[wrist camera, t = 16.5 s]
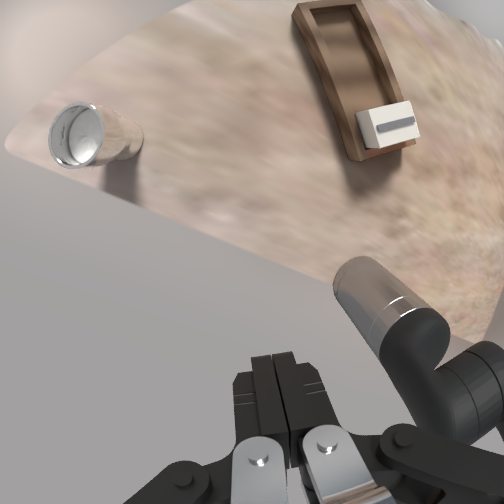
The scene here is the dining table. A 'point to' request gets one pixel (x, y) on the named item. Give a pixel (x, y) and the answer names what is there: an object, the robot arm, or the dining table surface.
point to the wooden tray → (349, 66)
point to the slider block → (387, 125)
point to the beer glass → (92, 136)
